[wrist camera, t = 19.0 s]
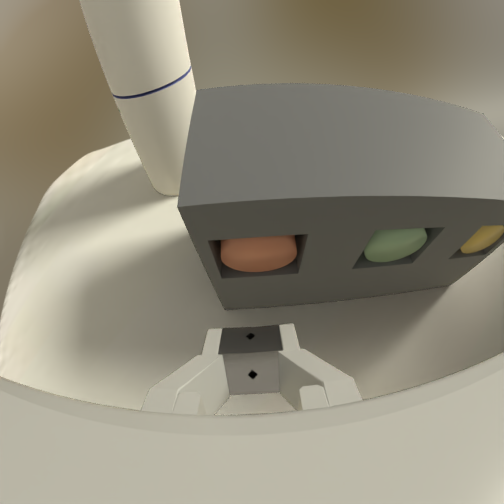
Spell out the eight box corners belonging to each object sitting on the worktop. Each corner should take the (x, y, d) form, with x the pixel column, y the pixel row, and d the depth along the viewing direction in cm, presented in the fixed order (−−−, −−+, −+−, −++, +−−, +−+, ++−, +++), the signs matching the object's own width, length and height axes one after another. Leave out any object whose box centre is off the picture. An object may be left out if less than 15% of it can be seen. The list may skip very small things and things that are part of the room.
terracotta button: (287, 224, 18) (291, 183, 15) (293, 269, 17) (300, 234, 13) (225, 228, 18) (216, 188, 15) (225, 274, 17) (215, 240, 13)
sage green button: (396, 219, 18) (419, 182, 14) (409, 259, 16) (438, 227, 13) (346, 221, 18) (361, 181, 14) (356, 264, 17) (378, 230, 13)
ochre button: (470, 217, 18) (495, 188, 14) (484, 251, 16) (512, 225, 13) (438, 218, 18) (462, 185, 14) (452, 255, 16) (481, 226, 13)
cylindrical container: (178, 206, 28) (94, -44, 6) (139, 178, 30) (59, -20, 8) (224, 165, 30) (190, -65, 8) (183, 143, 33) (136, -47, 10)
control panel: (425, 209, 27) (483, 113, 14) (450, 284, 22) (542, 203, 10) (223, 218, 27) (196, 90, 15) (224, 309, 23) (177, 206, 10)
